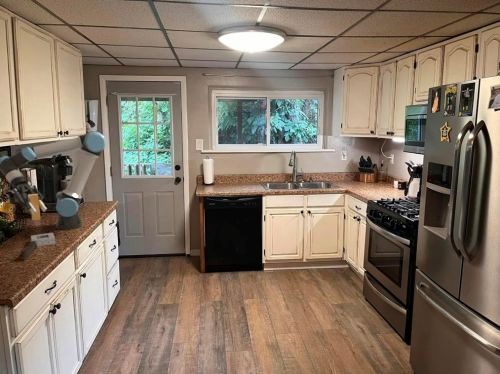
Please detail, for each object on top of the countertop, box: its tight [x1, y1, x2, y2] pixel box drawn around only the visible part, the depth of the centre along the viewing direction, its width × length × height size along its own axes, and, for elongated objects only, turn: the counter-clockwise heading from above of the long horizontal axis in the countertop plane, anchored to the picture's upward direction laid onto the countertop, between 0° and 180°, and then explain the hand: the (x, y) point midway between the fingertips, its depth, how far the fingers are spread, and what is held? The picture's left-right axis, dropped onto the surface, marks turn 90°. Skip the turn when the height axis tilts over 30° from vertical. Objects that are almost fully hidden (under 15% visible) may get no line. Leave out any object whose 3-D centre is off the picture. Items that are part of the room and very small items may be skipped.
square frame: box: [30, 232, 56, 247], centre depth 210 cm, size 11×11×4 cm
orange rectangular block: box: [28, 194, 41, 221], centre depth 207 cm, size 4×4×14 cm
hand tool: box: [21, 242, 38, 261], centre depth 191 cm, size 19×4×5 cm, turn 14°
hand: (40, 211), depth 206 cm, fingers closed on orange rectangular block, 5 cm apart
